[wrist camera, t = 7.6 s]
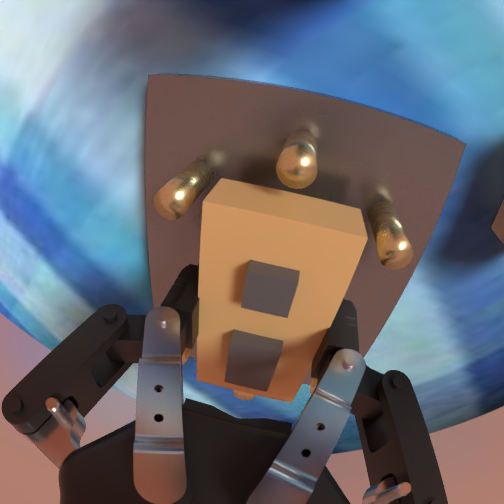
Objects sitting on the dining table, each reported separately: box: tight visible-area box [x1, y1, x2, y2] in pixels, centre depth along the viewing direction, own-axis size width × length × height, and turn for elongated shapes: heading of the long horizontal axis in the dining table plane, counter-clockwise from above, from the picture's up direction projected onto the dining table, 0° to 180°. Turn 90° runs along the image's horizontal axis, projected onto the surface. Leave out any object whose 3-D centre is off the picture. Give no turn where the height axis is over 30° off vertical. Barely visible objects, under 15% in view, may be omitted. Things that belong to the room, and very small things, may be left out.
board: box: [197, 178, 368, 402], centre depth 12 cm, size 5×10×3 cm, turn 171°
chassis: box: [145, 74, 466, 400], centre depth 14 cm, size 13×17×4 cm
